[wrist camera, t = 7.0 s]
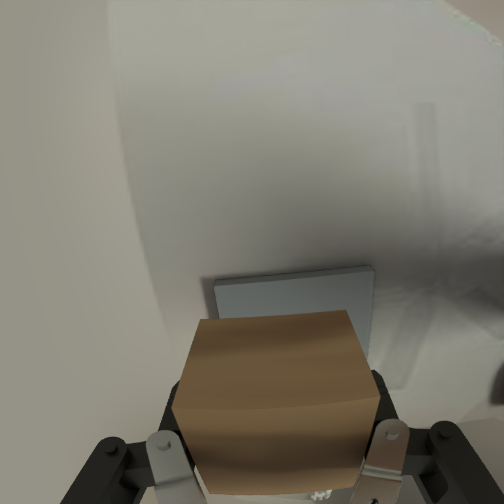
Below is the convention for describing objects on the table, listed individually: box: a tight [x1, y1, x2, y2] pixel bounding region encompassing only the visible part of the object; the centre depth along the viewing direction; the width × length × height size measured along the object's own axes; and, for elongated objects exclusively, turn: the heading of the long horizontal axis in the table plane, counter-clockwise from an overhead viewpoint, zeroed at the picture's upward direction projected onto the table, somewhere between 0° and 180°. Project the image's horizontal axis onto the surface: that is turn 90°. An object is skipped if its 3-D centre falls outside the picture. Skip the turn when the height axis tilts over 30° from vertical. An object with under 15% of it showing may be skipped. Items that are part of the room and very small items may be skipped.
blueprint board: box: [214, 265, 375, 360], centre depth 30 cm, size 20×14×1 cm
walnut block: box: [171, 310, 380, 495], centre depth 11 cm, size 6×6×5 cm
